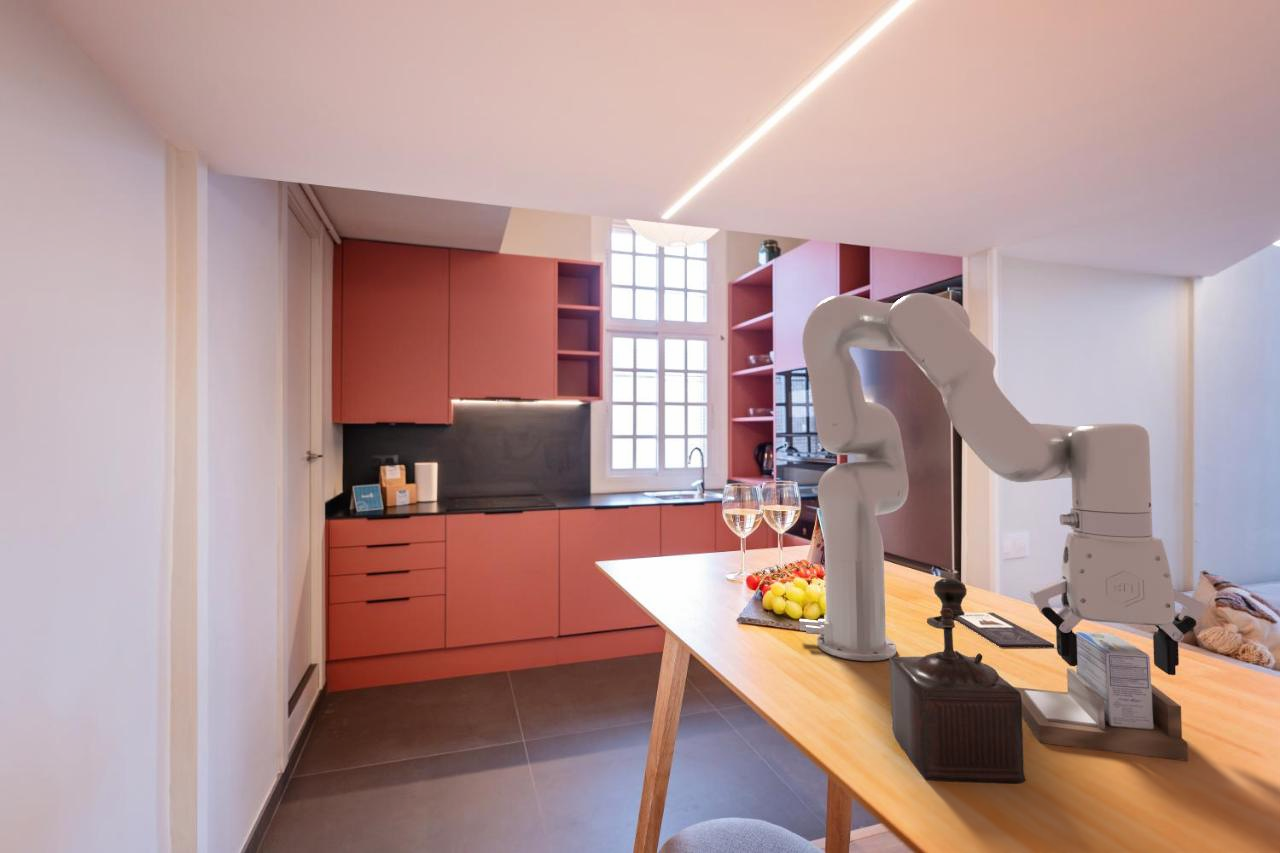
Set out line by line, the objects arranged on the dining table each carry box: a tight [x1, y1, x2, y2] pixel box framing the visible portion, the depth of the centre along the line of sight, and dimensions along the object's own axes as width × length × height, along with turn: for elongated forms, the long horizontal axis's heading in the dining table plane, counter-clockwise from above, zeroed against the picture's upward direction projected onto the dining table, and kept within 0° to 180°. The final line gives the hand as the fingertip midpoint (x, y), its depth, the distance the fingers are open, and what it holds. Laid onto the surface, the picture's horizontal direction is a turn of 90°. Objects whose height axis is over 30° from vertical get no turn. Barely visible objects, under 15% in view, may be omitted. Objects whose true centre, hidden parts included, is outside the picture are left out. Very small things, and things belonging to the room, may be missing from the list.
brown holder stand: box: [1013, 668, 1189, 762], centre depth 71 cm, size 14×11×6 cm
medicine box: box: [1075, 631, 1154, 730], centre depth 71 cm, size 8×4×9 cm, turn 166°
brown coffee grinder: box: [889, 577, 1026, 784], centre depth 68 cm, size 16×11×18 cm
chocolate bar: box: [955, 612, 1055, 649], centre depth 107 cm, size 9×1×18 cm
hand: (1115, 666), depth 70 cm, fingers open, 9 cm apart
